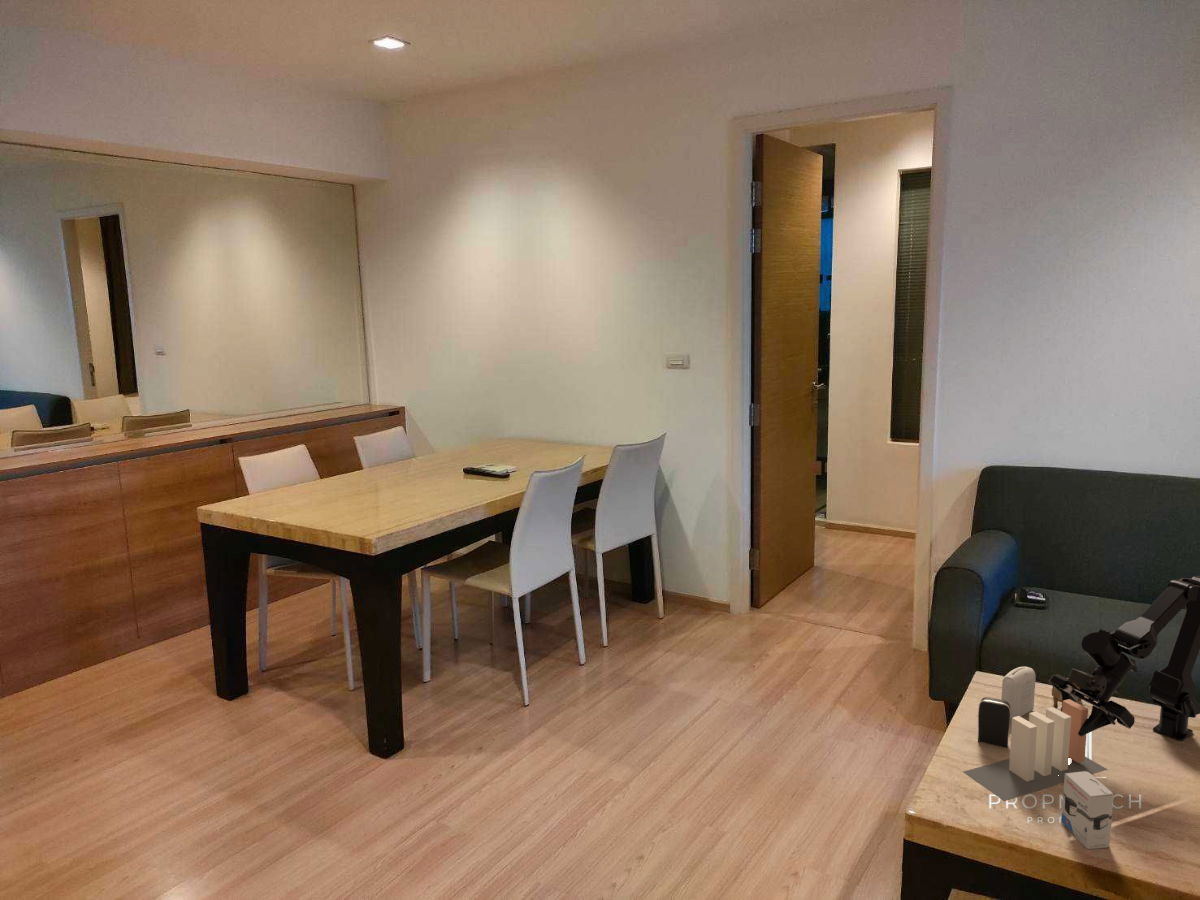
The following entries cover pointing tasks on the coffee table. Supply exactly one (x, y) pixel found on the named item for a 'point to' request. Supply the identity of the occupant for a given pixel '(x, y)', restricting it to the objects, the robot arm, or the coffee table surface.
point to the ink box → (1087, 809)
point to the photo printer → (1019, 690)
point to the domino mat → (1014, 786)
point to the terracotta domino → (1076, 729)
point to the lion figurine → (1059, 696)
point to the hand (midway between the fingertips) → (1069, 729)
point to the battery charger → (994, 722)
